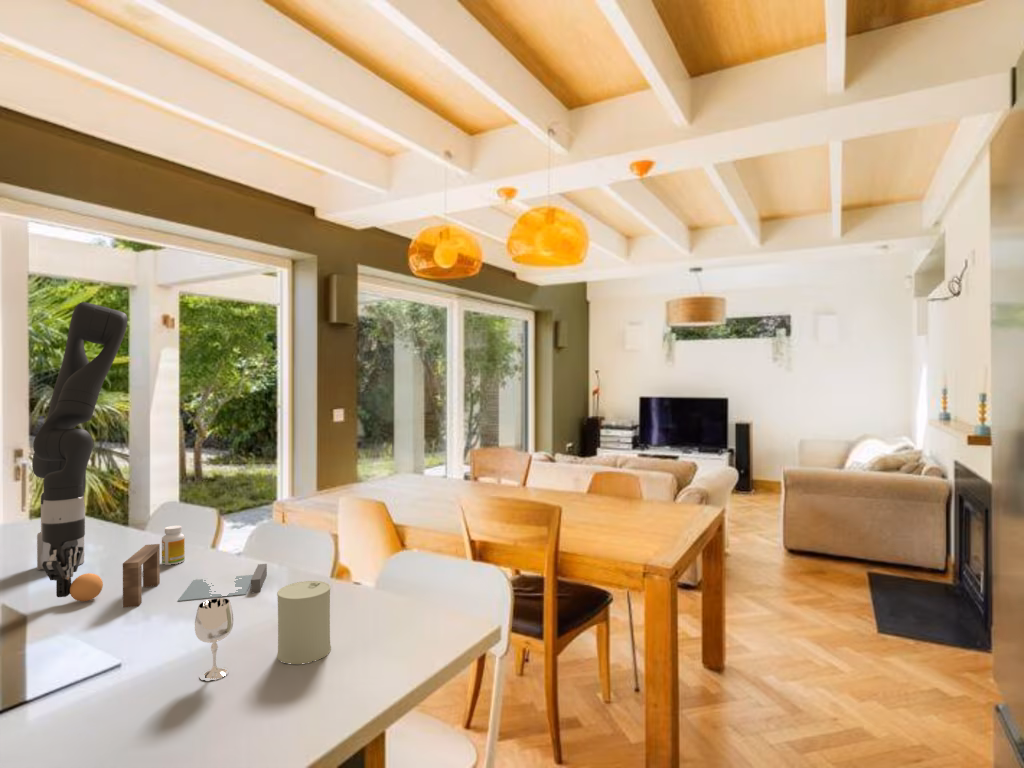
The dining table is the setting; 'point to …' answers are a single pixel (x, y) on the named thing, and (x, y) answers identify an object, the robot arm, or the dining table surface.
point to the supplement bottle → (173, 546)
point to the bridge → (140, 574)
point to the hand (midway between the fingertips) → (63, 595)
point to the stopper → (258, 578)
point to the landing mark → (201, 591)
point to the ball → (86, 587)
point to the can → (303, 622)
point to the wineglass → (214, 628)
